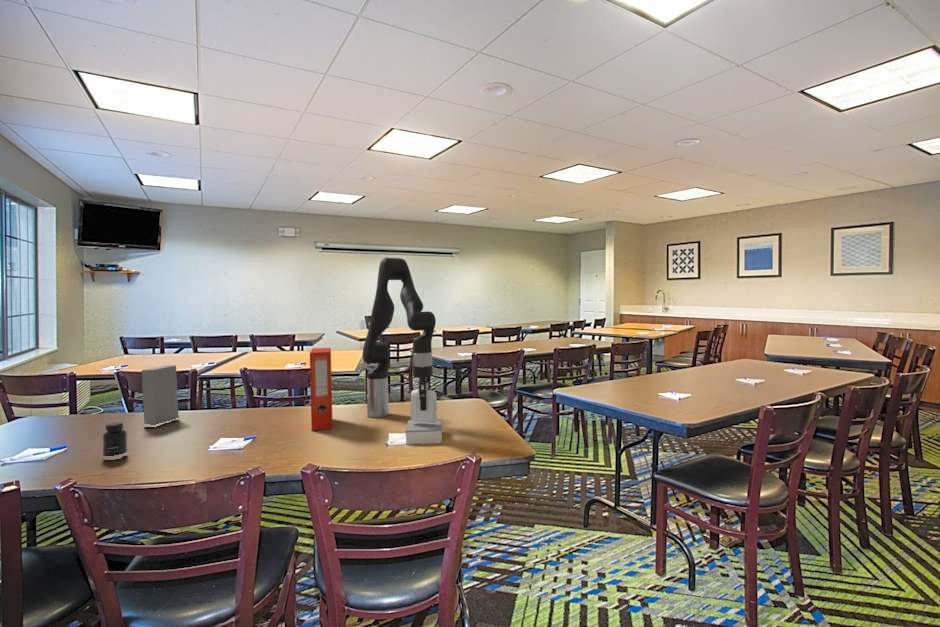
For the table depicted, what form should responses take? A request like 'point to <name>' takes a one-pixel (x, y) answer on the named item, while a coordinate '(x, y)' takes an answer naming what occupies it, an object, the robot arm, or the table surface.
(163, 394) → the grey upright panel
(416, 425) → the plinth
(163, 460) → the table surface
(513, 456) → the table surface
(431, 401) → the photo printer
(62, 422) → the table surface
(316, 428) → the file binder
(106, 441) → the supplement bottle
